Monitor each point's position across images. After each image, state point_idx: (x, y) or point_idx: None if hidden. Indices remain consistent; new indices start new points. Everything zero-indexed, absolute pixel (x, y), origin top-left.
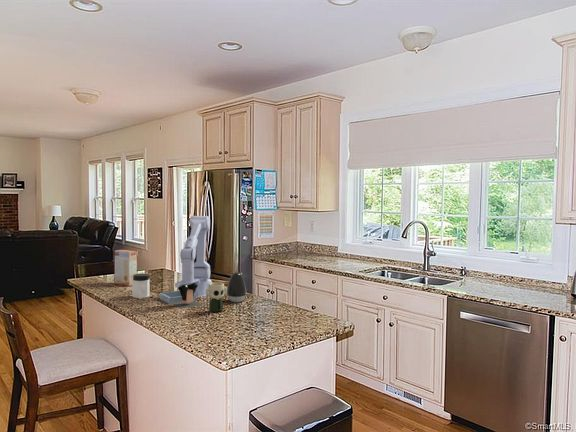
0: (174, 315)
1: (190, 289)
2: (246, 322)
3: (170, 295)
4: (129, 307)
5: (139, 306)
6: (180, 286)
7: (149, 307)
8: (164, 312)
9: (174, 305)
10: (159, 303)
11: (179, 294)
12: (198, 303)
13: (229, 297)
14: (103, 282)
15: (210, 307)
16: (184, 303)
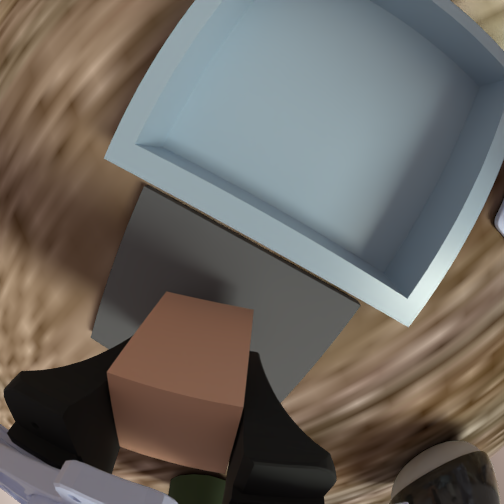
0: (22, 359)
1: (221, 452)
2: None
3: None
4: (12, 10)
5: (36, 20)
6: (15, 441)
7: (30, 89)
8: (9, 279)
9: (122, 239)
10: (152, 35)
11: (460, 52)
12: (291, 379)
13: (402, 482)
14: None
15: (169, 490)
16: (230, 278)
